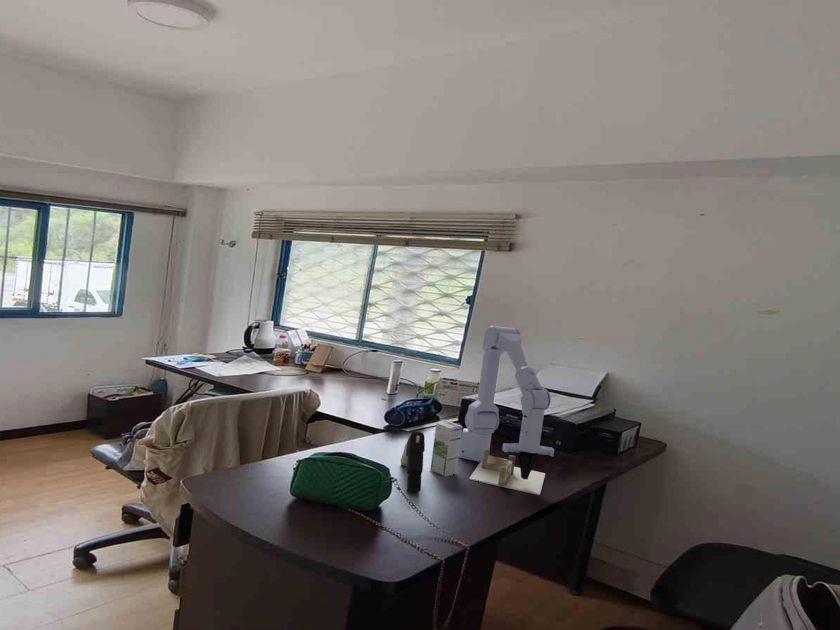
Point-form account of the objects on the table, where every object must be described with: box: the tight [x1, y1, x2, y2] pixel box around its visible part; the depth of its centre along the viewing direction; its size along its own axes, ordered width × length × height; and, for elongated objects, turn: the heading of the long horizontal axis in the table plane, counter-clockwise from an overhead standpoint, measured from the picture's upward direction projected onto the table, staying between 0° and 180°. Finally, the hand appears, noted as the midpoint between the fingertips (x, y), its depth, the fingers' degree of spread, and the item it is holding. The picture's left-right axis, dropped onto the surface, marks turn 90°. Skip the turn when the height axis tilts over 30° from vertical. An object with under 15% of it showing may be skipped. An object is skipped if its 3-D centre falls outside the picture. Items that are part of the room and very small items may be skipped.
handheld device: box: [400, 431, 426, 493], centre depth 159 cm, size 4×22×15 cm
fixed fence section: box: [482, 450, 517, 475], centre depth 174 cm, size 10×2×5 cm, turn 73°
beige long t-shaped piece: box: [498, 461, 513, 487], centre depth 166 cm, size 12×2×5 cm, turn 159°
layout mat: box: [469, 462, 546, 496], centre depth 172 cm, size 20×20×1 cm
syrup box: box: [430, 420, 463, 477], centre depth 167 cm, size 6×6×14 cm
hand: (524, 478), depth 163 cm, fingers closed
